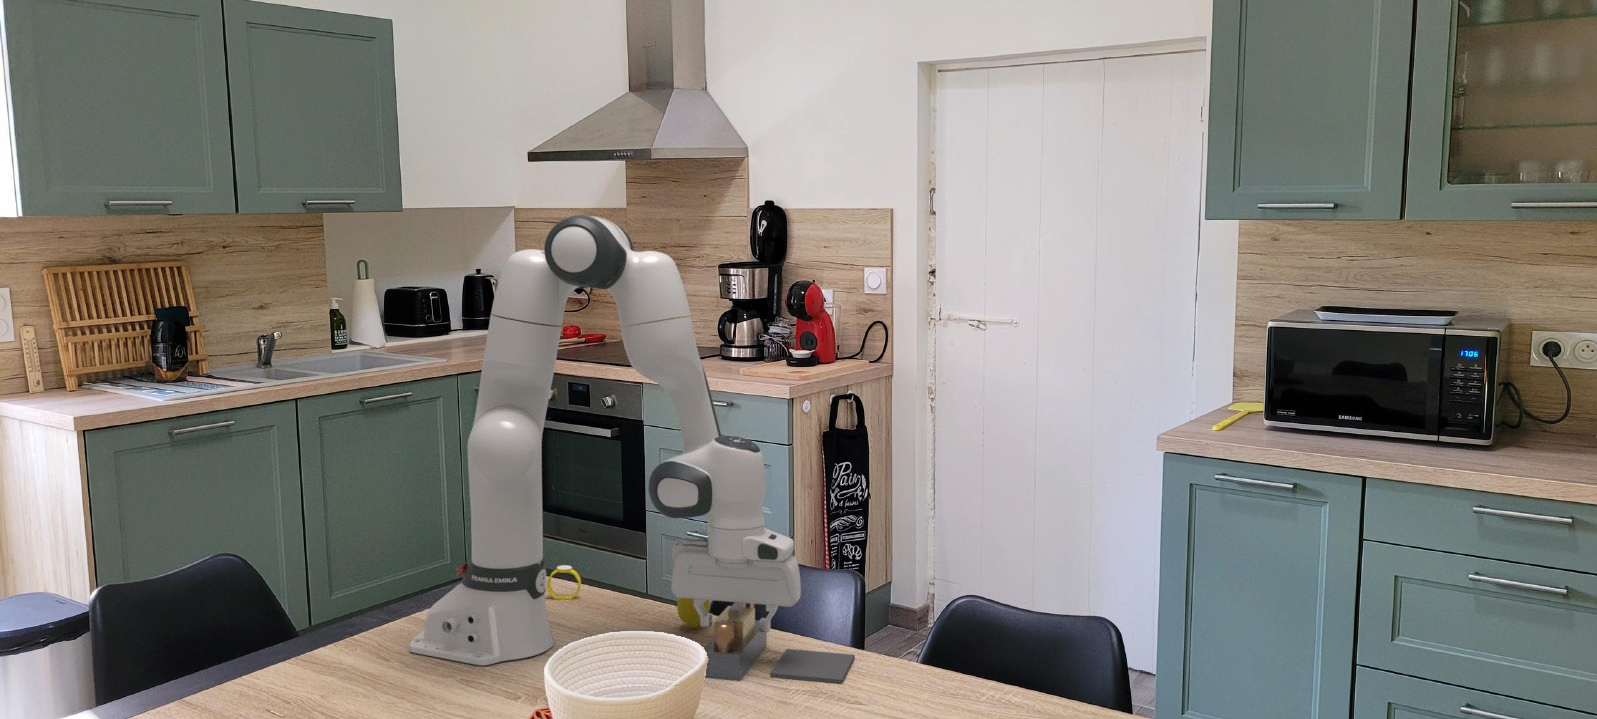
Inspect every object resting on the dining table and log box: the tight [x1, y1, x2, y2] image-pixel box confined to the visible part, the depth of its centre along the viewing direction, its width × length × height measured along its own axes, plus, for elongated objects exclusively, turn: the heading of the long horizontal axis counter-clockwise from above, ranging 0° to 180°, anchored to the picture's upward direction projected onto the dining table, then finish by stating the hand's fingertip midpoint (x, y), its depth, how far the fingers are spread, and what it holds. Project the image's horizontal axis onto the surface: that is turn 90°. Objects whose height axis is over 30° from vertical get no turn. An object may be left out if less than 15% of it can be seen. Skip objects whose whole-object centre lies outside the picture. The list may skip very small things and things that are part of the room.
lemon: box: [676, 597, 711, 629], centre depth 196 cm, size 6×6×8 cm
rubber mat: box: [769, 648, 856, 685], centre depth 179 cm, size 11×11×1 cm
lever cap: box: [715, 602, 756, 644], centre depth 181 cm, size 4×7×4 cm, turn 167°
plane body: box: [703, 603, 768, 681], centre depth 181 cm, size 6×16×9 cm, turn 167°
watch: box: [546, 564, 582, 600], centre depth 212 cm, size 6×3×6 cm, turn 92°
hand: (735, 628), depth 181 cm, fingers open, 8 cm apart
